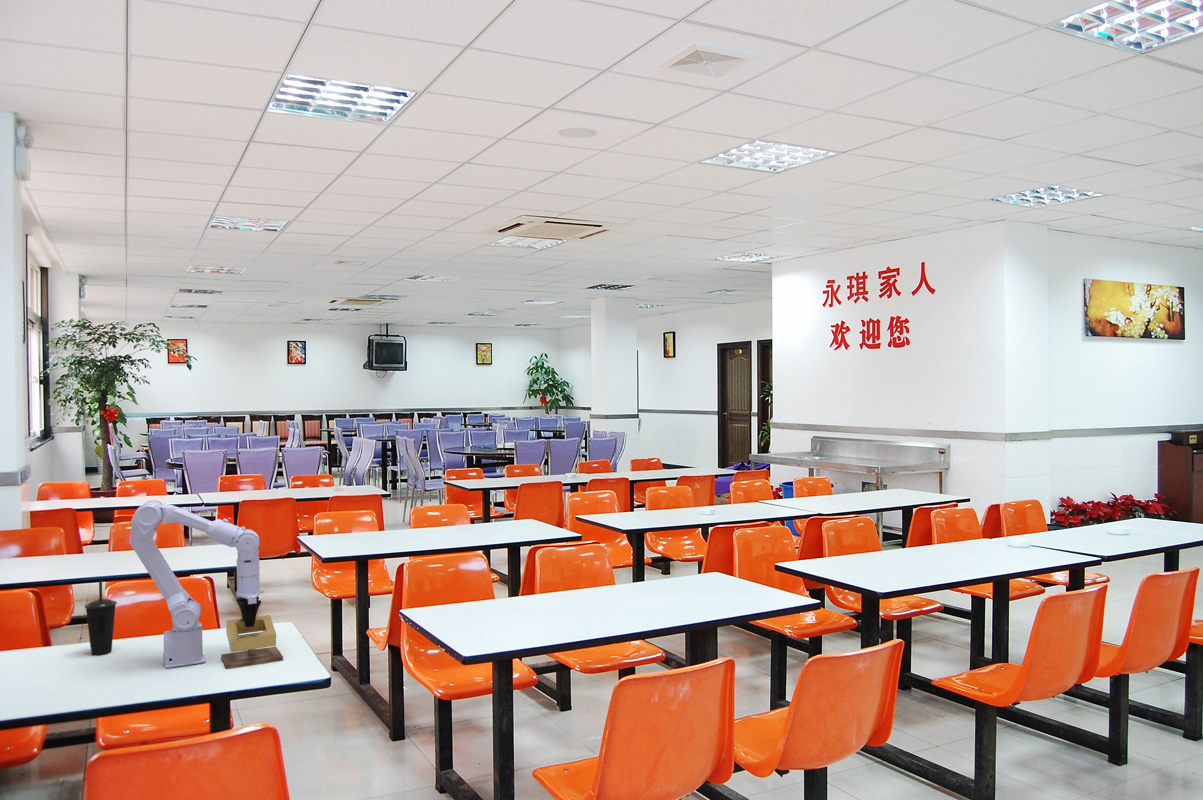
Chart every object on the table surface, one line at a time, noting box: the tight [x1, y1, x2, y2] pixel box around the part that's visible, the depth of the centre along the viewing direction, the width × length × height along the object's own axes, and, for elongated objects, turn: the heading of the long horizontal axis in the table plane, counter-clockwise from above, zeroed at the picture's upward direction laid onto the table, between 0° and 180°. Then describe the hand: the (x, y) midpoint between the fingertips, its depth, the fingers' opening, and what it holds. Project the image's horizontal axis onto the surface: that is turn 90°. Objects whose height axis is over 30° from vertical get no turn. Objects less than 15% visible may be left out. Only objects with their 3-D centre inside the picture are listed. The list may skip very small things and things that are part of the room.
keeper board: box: [220, 646, 284, 670], centre depth 232 cm, size 14×11×6 cm
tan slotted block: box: [225, 614, 277, 653], centre depth 232 cm, size 11×11×4 cm
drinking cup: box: [84, 580, 118, 657], centre depth 240 cm, size 8×8×20 cm
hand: (249, 625), depth 236 cm, fingers closed on tan slotted block, 2 cm apart
